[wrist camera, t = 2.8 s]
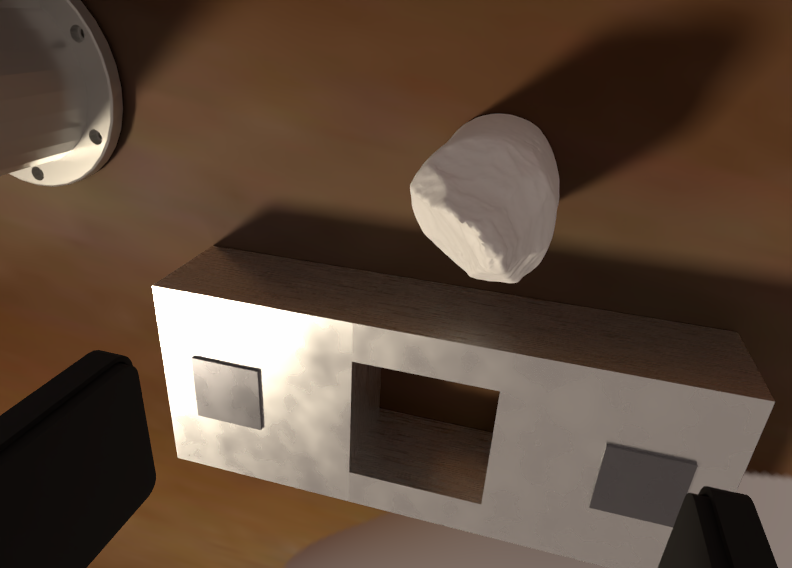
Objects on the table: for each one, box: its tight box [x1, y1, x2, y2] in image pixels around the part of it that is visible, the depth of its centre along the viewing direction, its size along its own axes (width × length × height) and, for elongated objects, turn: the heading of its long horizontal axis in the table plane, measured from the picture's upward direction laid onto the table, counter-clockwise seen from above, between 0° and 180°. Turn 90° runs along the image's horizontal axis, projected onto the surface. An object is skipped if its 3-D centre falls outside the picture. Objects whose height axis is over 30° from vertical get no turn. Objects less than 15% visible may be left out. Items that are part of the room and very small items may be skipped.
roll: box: [410, 113, 560, 283], centre depth 24 cm, size 6×12×6 cm
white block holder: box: [152, 246, 775, 568], centre depth 32 cm, size 12×30×6 cm, turn 87°
